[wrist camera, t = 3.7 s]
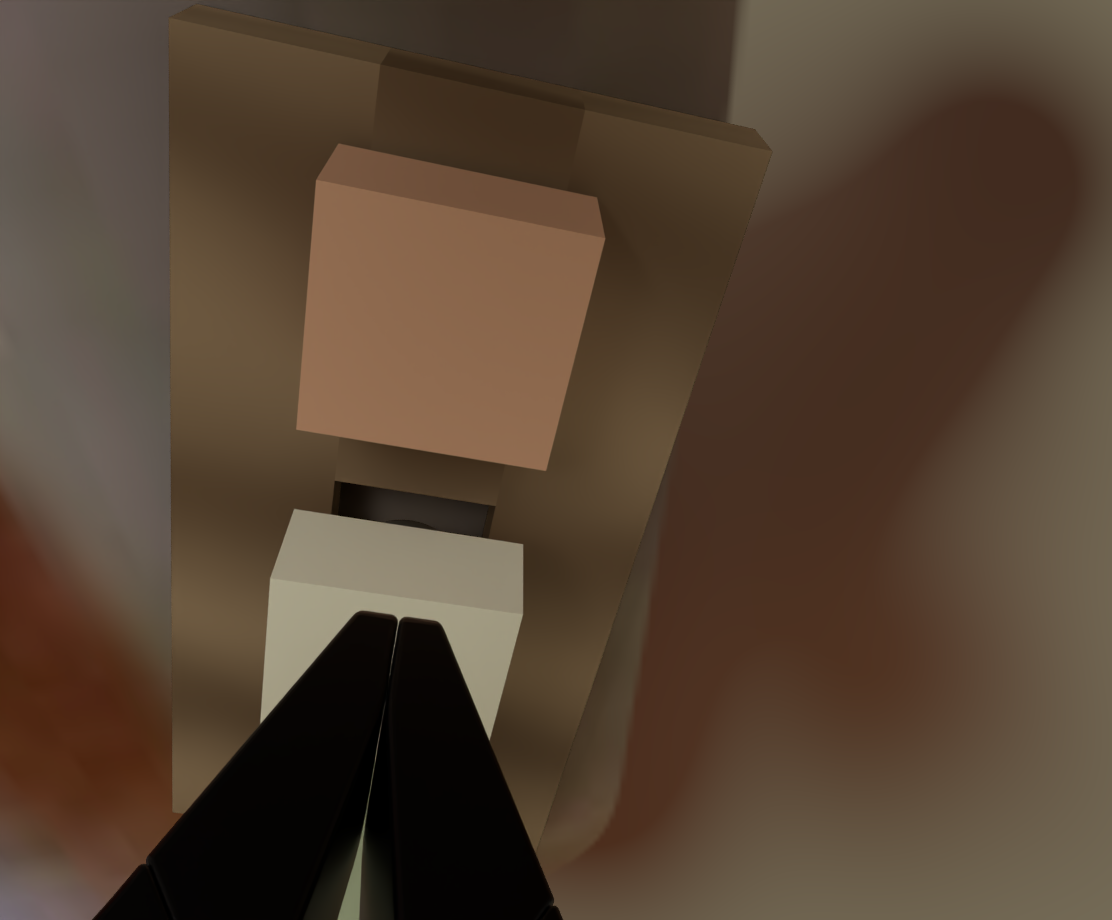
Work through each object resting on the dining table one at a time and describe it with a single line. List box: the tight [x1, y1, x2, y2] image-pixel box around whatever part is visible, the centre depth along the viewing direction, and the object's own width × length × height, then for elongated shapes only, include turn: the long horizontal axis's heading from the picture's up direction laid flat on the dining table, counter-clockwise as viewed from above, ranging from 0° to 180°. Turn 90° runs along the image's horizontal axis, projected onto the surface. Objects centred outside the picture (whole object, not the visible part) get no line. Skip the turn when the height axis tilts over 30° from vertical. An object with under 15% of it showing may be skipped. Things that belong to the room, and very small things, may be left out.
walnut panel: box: [169, 4, 772, 851], centre depth 21 cm, size 20×10×2 cm, turn 168°
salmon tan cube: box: [296, 144, 605, 471], centre depth 17 cm, size 4×4×4 cm
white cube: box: [260, 509, 523, 759], centre depth 19 cm, size 4×4×4 cm
